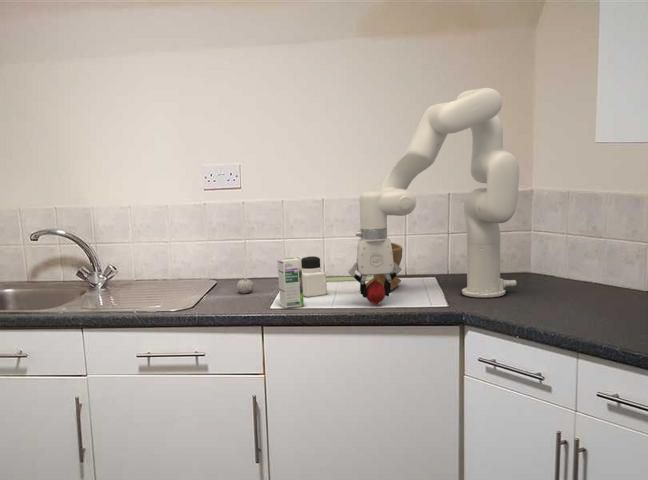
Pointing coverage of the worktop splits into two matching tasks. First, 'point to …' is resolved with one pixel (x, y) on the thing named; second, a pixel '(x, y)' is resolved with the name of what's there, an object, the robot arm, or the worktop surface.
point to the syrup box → (290, 282)
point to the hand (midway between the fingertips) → (375, 295)
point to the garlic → (245, 286)
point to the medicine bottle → (313, 277)
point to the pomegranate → (375, 292)
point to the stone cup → (397, 259)
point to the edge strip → (346, 278)
